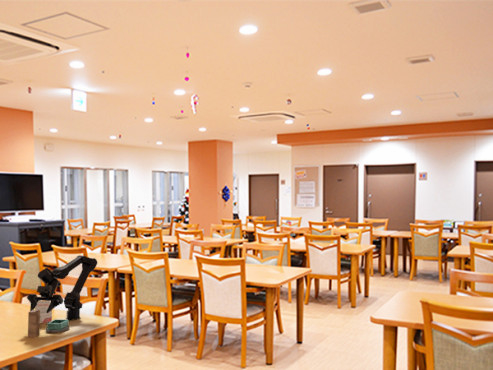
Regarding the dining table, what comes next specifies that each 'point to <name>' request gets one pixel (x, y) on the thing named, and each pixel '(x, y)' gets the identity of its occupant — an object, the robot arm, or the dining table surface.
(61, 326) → the teal square tray
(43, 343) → the dining table surface
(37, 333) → the rail post
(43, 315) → the ink cartridge box
